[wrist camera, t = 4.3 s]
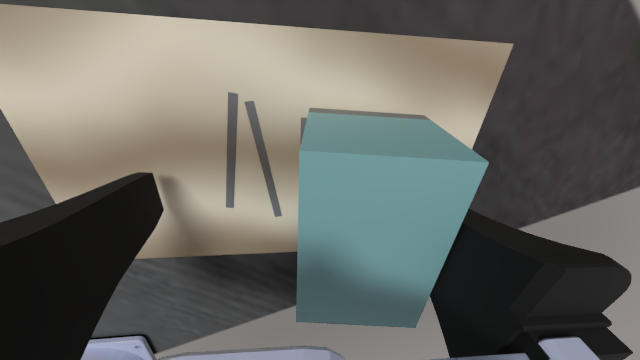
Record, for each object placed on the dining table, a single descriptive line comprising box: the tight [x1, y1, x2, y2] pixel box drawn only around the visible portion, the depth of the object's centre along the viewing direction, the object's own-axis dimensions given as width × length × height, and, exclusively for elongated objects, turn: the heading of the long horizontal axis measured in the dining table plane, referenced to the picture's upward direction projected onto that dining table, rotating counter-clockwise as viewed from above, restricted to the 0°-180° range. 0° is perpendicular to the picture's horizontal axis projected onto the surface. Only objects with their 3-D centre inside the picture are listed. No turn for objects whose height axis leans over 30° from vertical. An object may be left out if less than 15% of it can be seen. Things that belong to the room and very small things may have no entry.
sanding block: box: [296, 108, 489, 328], centre depth 11 cm, size 8×5×5 cm, turn 177°
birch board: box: [0, 4, 513, 259], centre depth 13 cm, size 12×21×2 cm, turn 87°
